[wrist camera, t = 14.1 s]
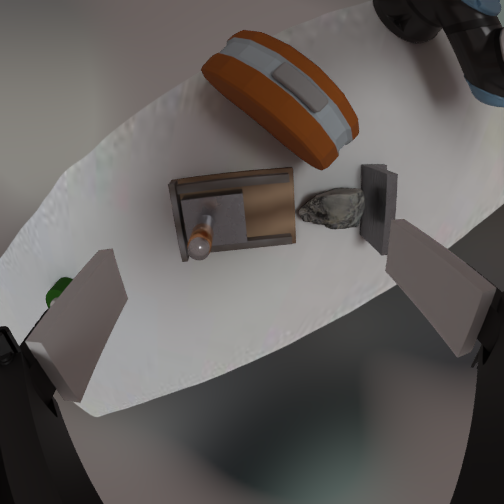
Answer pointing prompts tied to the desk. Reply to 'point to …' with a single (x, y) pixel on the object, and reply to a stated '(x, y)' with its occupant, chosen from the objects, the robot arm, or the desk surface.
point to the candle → (57, 290)
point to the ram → (213, 220)
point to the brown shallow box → (245, 205)
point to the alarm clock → (284, 95)
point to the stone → (335, 208)
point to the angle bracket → (378, 205)
